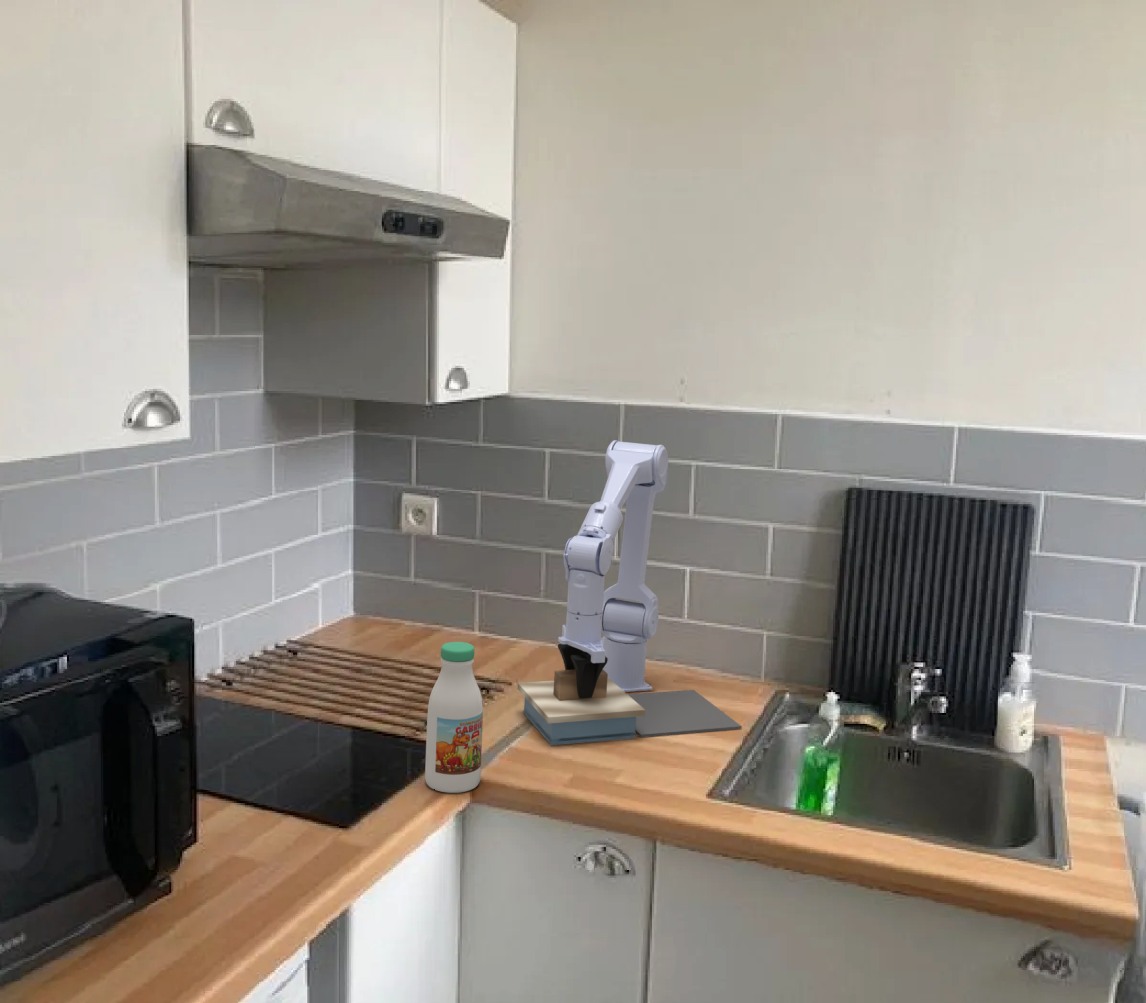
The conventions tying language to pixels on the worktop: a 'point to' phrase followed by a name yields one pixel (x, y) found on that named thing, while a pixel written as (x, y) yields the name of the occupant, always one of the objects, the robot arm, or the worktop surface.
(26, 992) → the worktop surface
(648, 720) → the mat
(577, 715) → the lid
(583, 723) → the dish
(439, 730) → the milk bottle
